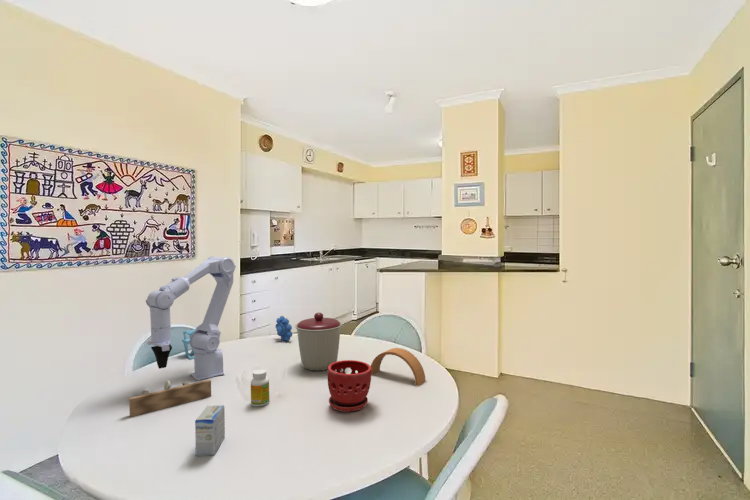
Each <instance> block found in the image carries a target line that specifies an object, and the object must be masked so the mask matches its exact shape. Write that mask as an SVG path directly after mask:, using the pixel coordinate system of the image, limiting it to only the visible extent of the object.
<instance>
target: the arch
mask: <svg viewBox="0 0 750 500" xmlns="http://www.w3.org/2000/svg"><path fill="white" fill-rule="evenodd" d="M387 355H388V356H389V355H391V356H395V357H398V358H400V359H402V361H404V362H405V363H406V364H407V365H408V366H409V368H410V370H411V371H412V374H413V376H414V382H415V386H417V387H419V386H420V385H422V384H423V383H424V382H425V381H426V375H425V370H424V367H423V365H422V363H421V361H420V360H419V359H418V358H417V356H415V355H414V354H413V353H412V352H411V351H408V350H407V349H404V348H401V347H400V348H399V347H393V348H390V349H387V350H386V351H383V352H382V353H380V354H378V355H377V356H375V358H374V359H373V360H372V362H371V364H370V366H371V376H373V375H375V374H376V373H378V372H380V371H381V364H382V362H383V360H384V358H385V357H386V356H387Z"/></svg>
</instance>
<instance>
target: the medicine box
mask: <svg viewBox="0 0 750 500" xmlns="http://www.w3.org/2000/svg"><path fill="white" fill-rule="evenodd" d="M225 414H226V413H225V405H224V404H223V405H222V404H221V405H219V404H218V405H216V404H215V405H206V407H204V409H203V411H202V412H201V413H200V414H199V416H198V417H197V418H196V419H195V420H194V423H195V424H194V425H195V426H194V429H195V432H194V433H195V434H194V436H195V456H196V457H205V456H206V457H207V456H215V455H216V453H217V451H218V450H219V448H220V447H221V444H222V443H223V441H224V439H225V436H226V435H225V433H226V427H225V424H226V423H225V420H226V419H225Z"/></svg>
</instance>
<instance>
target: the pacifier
mask: <svg viewBox="0 0 750 500" xmlns="http://www.w3.org/2000/svg"><path fill="white" fill-rule="evenodd" d="M170 388H172V382H171V381H170V380H169V379H167V380H166V381H165V383H164V386H163V390H166V389H170Z"/></svg>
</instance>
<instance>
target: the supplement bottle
mask: <svg viewBox="0 0 750 500" xmlns="http://www.w3.org/2000/svg"><path fill="white" fill-rule="evenodd" d="M269 403H270V379H269V378H268V377H267V370H266V369H256V370H253V371H252V378H251V380H250V404H251V406H253V407H263V406H266V405H268V404H269Z"/></svg>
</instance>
